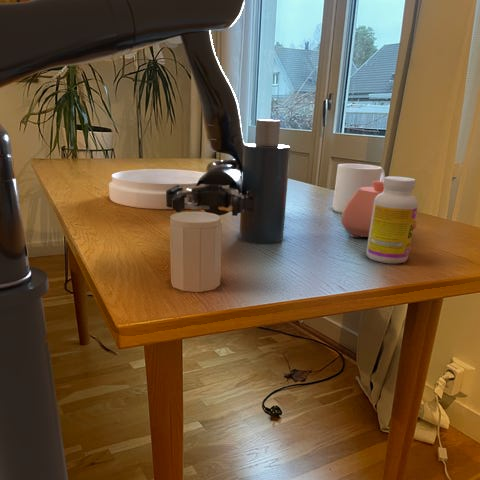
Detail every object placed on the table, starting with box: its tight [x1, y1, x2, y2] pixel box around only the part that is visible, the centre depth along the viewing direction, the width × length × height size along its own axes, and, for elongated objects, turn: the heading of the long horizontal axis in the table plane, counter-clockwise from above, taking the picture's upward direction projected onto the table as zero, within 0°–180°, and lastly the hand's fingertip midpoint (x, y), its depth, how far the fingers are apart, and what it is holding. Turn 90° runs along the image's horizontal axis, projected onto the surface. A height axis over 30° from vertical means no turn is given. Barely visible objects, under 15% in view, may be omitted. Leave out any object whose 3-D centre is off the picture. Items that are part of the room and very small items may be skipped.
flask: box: [239, 119, 291, 245], centre depth 83 cm, size 8×8×20 cm
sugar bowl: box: [340, 181, 418, 238], centre depth 90 cm, size 12×14×10 cm
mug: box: [332, 163, 386, 214], centre depth 112 cm, size 13×10×10 cm
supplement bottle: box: [365, 175, 419, 265], centre depth 76 cm, size 7×7×13 cm
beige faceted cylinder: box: [169, 211, 223, 293], centre depth 62 cm, size 6×7×9 cm
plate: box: [108, 168, 206, 210], centre depth 117 cm, size 27×27×6 cm
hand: (205, 207), depth 70 cm, fingers open, 8 cm apart
